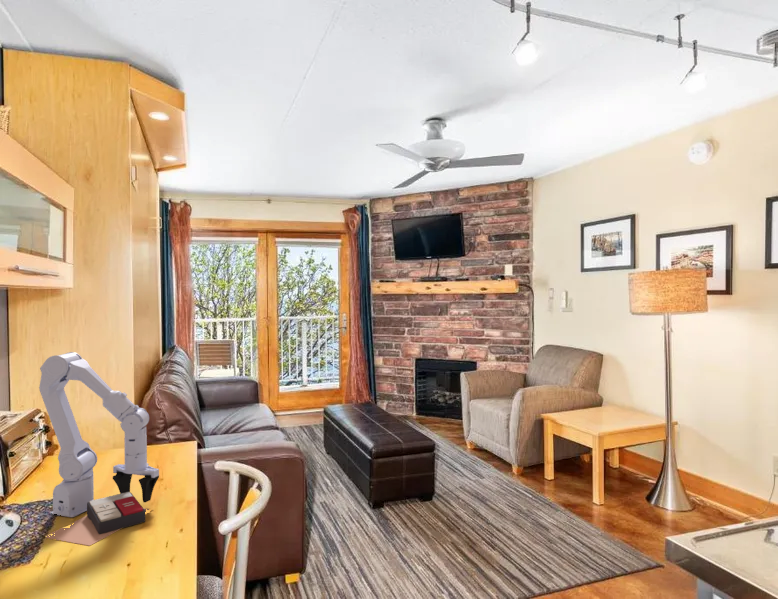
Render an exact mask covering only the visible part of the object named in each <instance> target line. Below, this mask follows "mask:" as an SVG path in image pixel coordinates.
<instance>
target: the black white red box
mask: <svg viewBox="0 0 778 599" xmlns="http://www.w3.org/2000/svg"><path fill="white" fill-rule="evenodd" d="M144 508H145V507H143V506H142V505H141V503H140V502H139V500H137V498H136V497H135V496H134V495H133V493H132V492H131V491H130V492H126V493H121V494H120V493H118V494H114V495H110V496H106V497H101V498H97V499H94V500H92V501H89V502H88V503H87V511H86V516H88V518H89V519H90V520H91V521H92V523H93V524H94V526H95V528H96V530H97V532H98V533H99V534H104V533H107V532H111V531H114V530H118V529H120V530H121V528H122V529H124V528H128V527H131V526H136V525H139V524H143V523H145V522H146V515H145V510H144ZM142 522H143V523H142ZM118 531H119V530H118Z"/></svg>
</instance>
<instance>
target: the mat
mask: <svg viewBox="0 0 778 599" xmlns="http://www.w3.org/2000/svg"><path fill="white" fill-rule="evenodd" d="M143 508H144V510H145V512H146V509H147V510H149V509H150V508H146V507H143ZM73 522H74V524H73V525H72V524H71V523H70V524H71V526H70V528H62V527H61V528H58V529H59V530H58V529H57V530H54V531H55V532H54V531H52V532H50V533H49V534H51V533H52V534H53V535H52V536H51V535H49V536H50V537H49V536H48V534H46V535H47V537H46V538H45V539H47V538H49V540H53V539H56V540H55V541H59V540H61V541H60V542H64V541H66V542H65V543H70V542H71V543H70V544H74V545H75V544H76V545H81V544H82V546H88V547H91V546H93V545H94V544H96V543H98V542H100V541H101V539H102V540H104V539H106V538H107V537H109V536H111V535H112V534H114V533H116V532H117V531H119V530H121V529H118V530H114V531H111V532H107V533H104V534H99V533H98V532H97V530H96V528H95V526H94V524H93V523H92V521H91V520H90V519H89V518H88V516H87V515H85V516H83V517H81V518H79V519H77V520H75V521H73ZM64 529H65V530H64ZM54 533H55V534H54ZM54 535H55V536H54ZM92 544H93V545H92ZM90 545H91V546H90Z"/></svg>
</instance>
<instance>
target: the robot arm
mask: <svg viewBox="0 0 778 599" xmlns="http://www.w3.org/2000/svg"><path fill="white" fill-rule="evenodd" d="M39 369H40V372H41V375H40V376H41V377H40V381H39V387H38V388H39V392H40V396H41V399H42V402H43V404H44V407H45V409H46V412H47V415H48V416H49V420H50V423H51V425H52V427H53V430H54V433H55V437H56V439H57V442H58V444H59V445H58V446H59V447H60V450H59V453H58V456H57V459H58V464H59V466H58V474H59V476H60V477H61V478H62V479H63V480H62V481H61V482H60V483H59V484H57V485H55V486H54V488H53V490H52V511H51V512H50V514H51V513H52V514H51V515H54V514H57V515H56V516H60V515H61V516H62V517H68V518H74V517H76V516H79V515H80V514H83V513H84V512H87V503H88V502H89V501H92V500H95V499H94V493H95V492H94V489H95V488H94V467H95V466H96V465H97V462H98V456H97V453H96V452H95V451H94V450H93V448H91V446H90V444H89V443H88V442H87V441H85V440H84V439H83V438H82V435H81V432H80V430H79V427H78V423H77V422H76V418H75V416H74V413H73V410H72V408H71V404H70V402H69V399H68V397H67V394H66V391H65V387H66V386H67V384H68V383H69V381H80V382H81V383H83V384H84V386H86V387H87V388H88V389H89V390H91V391H92V392H93V393H95V395H97V396H98V397H100V398H101V399H102V407H104V409H105V410H107V411H108V412H109V413H110V414H111V415H112V416H113V417H115V419H116V420H118V422H120V428H121V430H122V431H123V432H124V464H123V463H122V464H120V463H118V464H116V465H114V466H113V467H112V470H113V472H112V473H113V474H115V475H113V476H112V480H113V482H114V483H115V484H116V486H117V489H118V490H119V494H121V493H126V492H131V482H132V478H133V475H137V476H142V478H139V479H138V482H139V484H140V489H141V494H142V495H141V496H142V502H143V503H148V502H150V501H151V499H152V494H153V491H154V488H155V486H156V483H157V481H159V479H160V469H159V468H155V467H153V466H150V465H149V464H150V463H148V456H147V455H148V452H147V450H148V445H147V444H148V443H147V442H148V441H147V440H148V439H147V438H148V437H147V425H148V424H149V422H150V414H149V412H147V409H146V408H143V407H139V406H140V405H138V404H135V403H133V402H132V400H130V399H129V398H128V397H127V396H128V394H127V393H126V392H122V391H121V390H113V389H112V388H111V386H109V385H108V384H107V383H106V382H105V380H103V378H101V377H100V375H99V374H98V373H97V372H96V371H95V370H94V369H93V368H92V367H91V366H90V364H89V362H88V360H86V359H84V358H83V357H82V356H81V355H80V354H79V353H78V352H74V351H70V352H66V353H63V354H58V355H52V356H49V357H47V359H46V360H44V362H43V363H42V365H41V366H40V368H39ZM143 476H144V477H143ZM61 516H60V517H61Z"/></svg>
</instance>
